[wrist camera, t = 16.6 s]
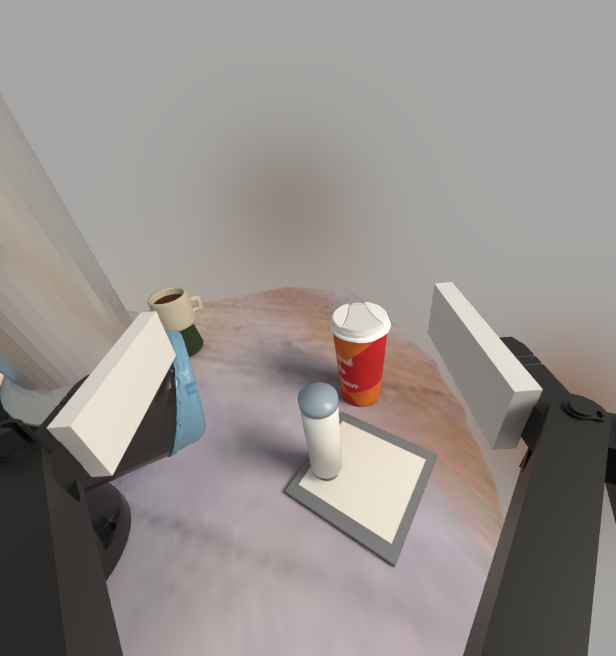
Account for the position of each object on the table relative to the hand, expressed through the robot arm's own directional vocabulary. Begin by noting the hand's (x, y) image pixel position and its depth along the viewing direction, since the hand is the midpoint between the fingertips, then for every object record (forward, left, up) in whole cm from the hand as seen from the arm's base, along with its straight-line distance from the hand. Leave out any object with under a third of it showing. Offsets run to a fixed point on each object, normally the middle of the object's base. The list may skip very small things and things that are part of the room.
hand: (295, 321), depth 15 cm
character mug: (-45, +16, -30) cm, 56 cm away
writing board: (-2, +10, -30) cm, 32 cm away
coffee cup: (-8, +22, -30) cm, 38 cm away
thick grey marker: (-6, +8, -29) cm, 31 cm away
